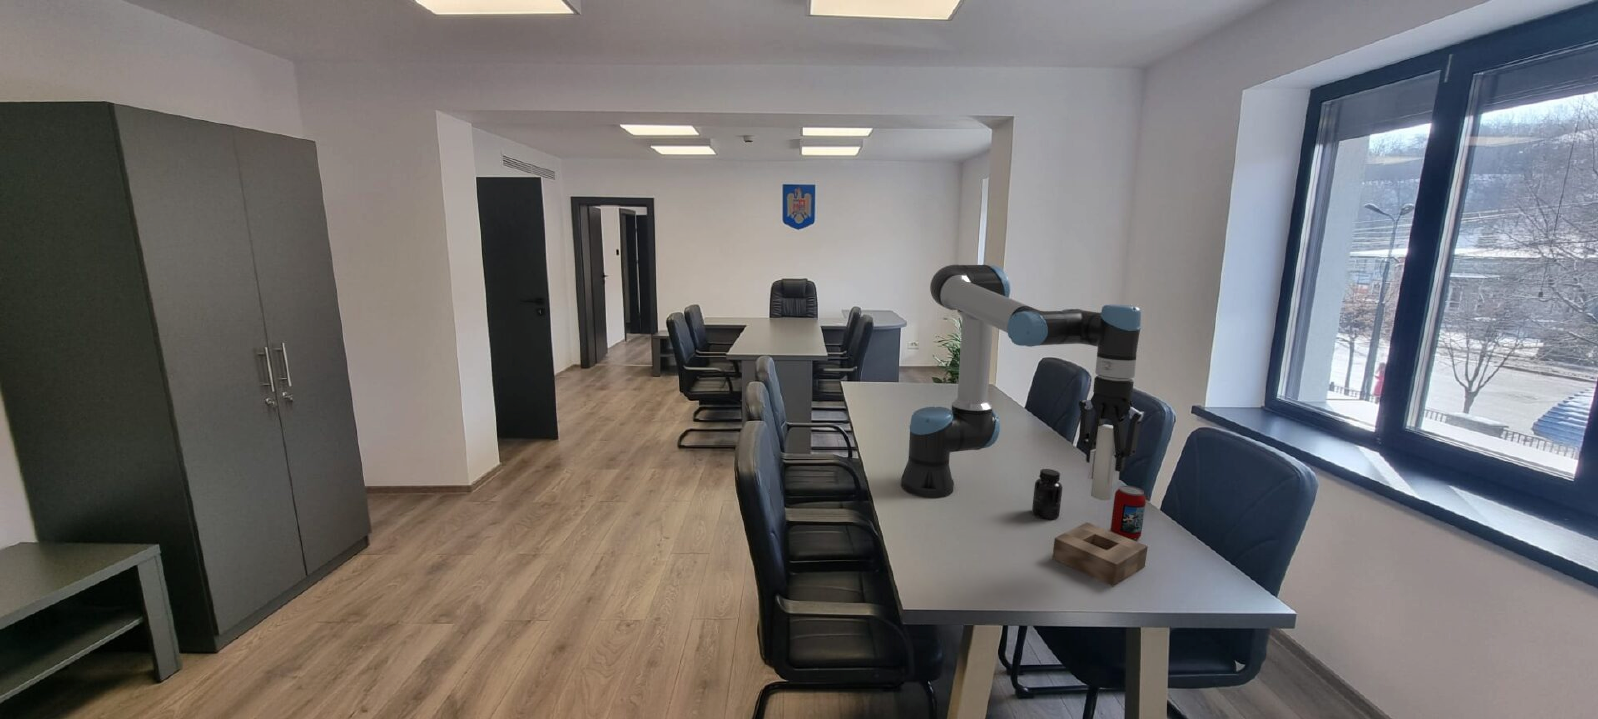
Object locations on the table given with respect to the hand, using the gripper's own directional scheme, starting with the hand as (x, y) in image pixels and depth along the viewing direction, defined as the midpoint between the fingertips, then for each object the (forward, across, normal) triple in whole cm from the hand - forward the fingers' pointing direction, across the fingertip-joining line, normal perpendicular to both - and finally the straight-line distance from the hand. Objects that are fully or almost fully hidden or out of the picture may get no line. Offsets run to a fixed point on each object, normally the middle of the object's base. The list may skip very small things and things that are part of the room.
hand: (1102, 480), depth 133 cm
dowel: (+4, 0, 0) cm, 4 cm away
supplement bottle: (+19, -20, +13) cm, 31 cm away
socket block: (+19, +1, +1) cm, 19 cm away
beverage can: (+20, -3, +20) cm, 28 cm away
